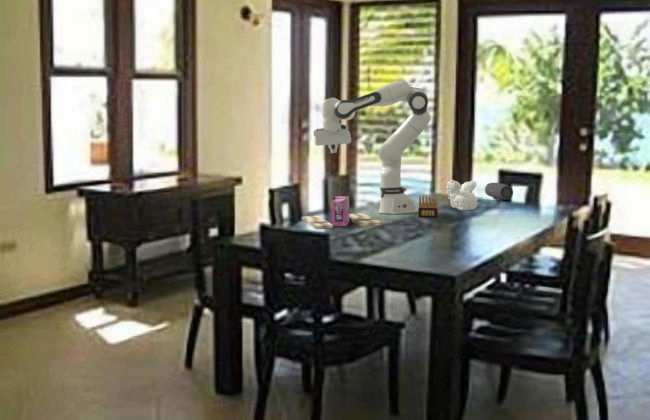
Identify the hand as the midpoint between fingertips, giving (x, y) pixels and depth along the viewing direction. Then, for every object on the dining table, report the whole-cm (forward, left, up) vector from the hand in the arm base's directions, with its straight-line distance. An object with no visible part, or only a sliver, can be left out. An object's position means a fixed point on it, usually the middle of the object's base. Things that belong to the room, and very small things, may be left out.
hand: (333, 152), depth 494 cm
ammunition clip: (-43, +32, -35) cm, 64 cm away
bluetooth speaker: (-107, -30, -35) cm, 117 cm away
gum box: (+5, +34, -35) cm, 49 cm away
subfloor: (+4, +30, -35) cm, 46 cm away
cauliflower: (-73, +2, -35) cm, 81 cm away
